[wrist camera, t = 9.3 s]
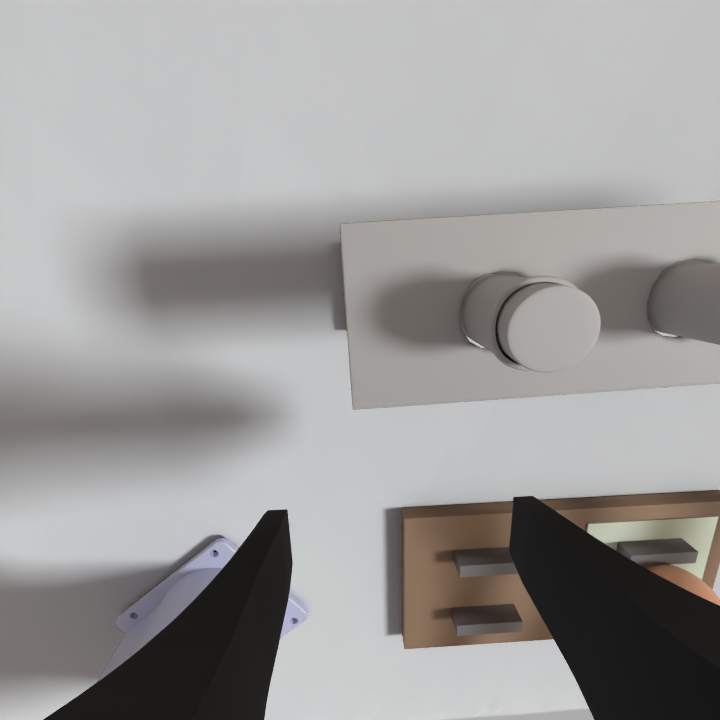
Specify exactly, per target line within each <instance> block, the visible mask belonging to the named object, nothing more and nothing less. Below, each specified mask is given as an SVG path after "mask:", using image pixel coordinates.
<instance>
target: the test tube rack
mask: <svg viewBox="0 0 720 720" xmlns="http://www.w3.org/2000/svg"><path fill="white" fill-rule="evenodd" d="M340 234H341V243H340V248H341V262H342V276H343V290H344V305H345V319H346V331H347V335H348V349H349V364H350V378H351V391H352V404H353V410H356V409H371V408H386V407H400V406H414V405H428V404H442V403H455V402H469V401H483V400H497V399H510V398H524V397H538V396H552V395H566V394H579V393H593V392H607V391H621V390H634V389H648V388H662V387H676V386H690V385H704V384H717V383H720V201H711V202H694V203H677V204H660V205H644V206H627V207H610V208H593V209H577V210H560V211H543V212H526V213H509V214H493V215H476V216H459V217H442V218H426V219H409V220H393V221H376V222H360V223H345V224H340ZM653 330H655V331H659V332H664V333H668V334H673V335H677V337H668V336H662V335H660V334H658V333H657V332H655V331H653ZM466 336H467V337H469V338H470V339H472V340H474V341H475V342H477V343H479V344H480V345H482V346H483V347H485V348H487V349H485V348H480V347H478V346H476V345H474V344H473V343H471V342H469V340H468V339H467V337H466Z"/></svg>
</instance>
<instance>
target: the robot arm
mask: <svg viewBox="0 0 720 720" xmlns="http://www.w3.org/2000/svg"><path fill="white" fill-rule="evenodd" d="M213 550H216V551H217V552H214V551H213ZM509 552H510V554H511V557H512V559H513V562H514V564H515V567H516V569H517V572H518V574H519V576H520V579H521V581H522V583H523V585H524V587H525V589H526V591H527V592H528V594H529V596H530V598H531V600H532V601H533V603H534V605H535V607H536V609H537V610H538V612H539V614H540V616H541V617H542V619H543V621H544V623H545V624H546V626H547V628H548V630H549V632H550V633H551V635H552V637H553V639H554V640H555V642H556V644H557V646H558V647H559V649H560V651H561V653H562V655H563V656H564V658H565V660H566V662H567V664H568V665H569V667H570V669H571V671H572V673H573V675H574V677H575V679H576V681H577V683H578V685H579V687H580V689H581V692H582V694H583V696H584V698H585V700H586V702H587V705H588V707H589V709H590V711H591V713H592V715H593V717H594V720H720V606H719V605H717V604H715V603H713V602H711V601H708V600H706V599H704V598H702V597H700V596H698V595H696V594H694V593H692V592H690V591H688V590H686V589H684V588H682V587H680V586H678V585H676V584H674V583H672V582H670V581H668V580H666V579H665V578H663V577H661V576H659V575H657V574H655V573H653V572H651V571H650V570H648V569H646V568H644V567H643V566H641V565H639V564H637V563H636V562H634V561H632V560H631V559H629V558H627V557H626V556H624V555H622V554H621V553H619V552H617V551H616V550H614V549H612V548H611V547H609V546H608V545H606V544H604V543H603V542H601V541H600V540H598V539H597V538H595V537H594V536H592V535H590V534H589V533H587V532H586V531H584V530H583V529H581V528H580V527H578V526H577V525H575V524H574V523H572V522H571V521H570V520H568V519H567V518H565V517H564V516H562V515H561V514H559V513H558V512H556V511H555V510H553V509H552V508H550V507H549V506H547V505H546V504H544V503H543V502H541V501H540V500H538V499H536V498H535V497H533V496H526V497H514V499H513V510H512V521H511V533H510V544H509ZM291 573H292V553H291V543H290V533H289V522H288V512H287V510H269V511H267V512H266V513H265V514H264V515H263V517H262V518H261V519H260V521H259V522H258V524H257V525H256V526H255V528H254V529H253V531H252V532H251V533H250V535H249V536H248V537H247V539H246V540H245V541H244V543H243V544H242V545H241V546H240V548H239V549H238V548H236V547H235V546H234V545H233V544H232V543H231V542H230V541H228V540H227V539H225V538H218V539H216V540H215V541H213V542H212V543H211V544H210V545H208V546H207V547H206V548H205V549H203V550H202V551H201V552H199V553H198V554H197V555H196V556H194V557H193V558H192V559H190V560H189V561H188V562H187V563H185V564H184V565H183V566H182V567H180V568H179V569H178V570H176V571H175V572H174V573H173V574H171V575H170V576H169V577H168V578H166V579H165V580H164V581H162V582H161V583H160V584H159V585H157V586H156V587H155V588H154V589H152V590H151V591H150V592H148V593H147V594H146V595H145V596H143V597H142V598H141V599H139V600H138V601H137V602H136V603H134V604H133V605H132V606H131V607H129V608H128V609H127V610H125V611H124V612H123V613H122V614H120V615H119V617H118V618H117V620H116V622H115V624H116V626H117V628H119V629H120V630H121V631H123V632H124V633H126V634H125V635H124V637H123V639H122V640H121V642H120V644H119V646H118V647H117V649H116V651H115V652H114V654H113V656H112V657H111V659H110V661H109V663H108V664H107V666H106V668H105V669H104V671H103V673H102V675H101V676H100V678H99V680H98V681H97V683H96V684H94V685H93V686H92V687H90V688H89V689H87V690H86V691H85V692H83V693H82V694H80V695H79V696H78V697H76V698H75V699H73V700H72V701H70V702H69V703H67V704H66V705H64V706H63V707H61V708H60V709H58V710H57V711H55V712H54V713H53V714H51V715H50V716H48V717H47V718H45V719H44V720H264V716H265V709H266V702H267V697H268V691H269V686H270V681H271V676H272V672H273V667H274V663H275V658H276V654H277V649H278V645H279V640H280V638H281V637H283V636H284V635H285V634H287V633H288V632H290V631H291V630H292V629H294V628H295V627H297V626H298V625H300V624H301V623H302V622H304V621H305V620H306V619H307V617H308V609H307V608H306V607H305V606H304V605H303V604H301V603H300V602H299V601H298V600H297V599H296V598H294V597H293V596H292V595H291V594H290V593H289V591H290V582H291Z"/></svg>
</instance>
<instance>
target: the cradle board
mask: <svg viewBox="0 0 720 720" xmlns="http://www.w3.org/2000/svg"><path fill="white" fill-rule="evenodd" d="M540 501H541V502H543V503H544V504H546V505H547V506H549V507H550V508H552V509H553V510H555V511H556V512H558V513H559V514H561V515H562V516H564V517H565V518H567V519H568V520H570V521H571V522H572V523H574V524H575V525H577V526H578V527H580V528H581V529H583V530H584V531H586V532H587V533H589V534H590V535H592V536H594V537H595V538H597V539H598V540H600V541H601V542H603V543H604V544H606V545H608V546H609V547H611V548H612V549H614V550H616V551H617V552H619V553H621V554H622V555H624V556H626V557H627V558H629V559H631V560H632V561H634V562H636V563H637V564H639V565H641V566H655V565H662V564H668V565H673V566H677V567H680V568H682V569H685V570H687V571H689V572H690V573H692V574H694V575H695V576H697V577H698V578H700V579H701V580H702V581H703V582H705V583H706V584H707V585H708V586H709V587H710V588H711V589H713V585H714V582H715V578H716V574H717V571H718V567H719V563H720V490H717V491H699V492H680V493H662V494H644V495H626V496H608V497H589V498H571V499H553V500H540ZM512 510H513V502H498V503H480V504H462V505H444V506H425V507H407V508H402V636H403V642H404V649H413V648H428V647H443V646H458V645H473V644H488V643H503V642H518V641H532V640H547V639H553V637H552V635H551V633H550V632H549V630H548V628H547V626H546V624H545V623H544V621H543V619H542V617H541V616H540V614H539V612H538V610H537V609H536V607H535V605H534V603H533V601H532V600H531V598H530V596H529V594H528V592H527V591H526V589H525V587H524V585H523V583H522V581H521V579H520V576H519V574H518V572H517V569H516V567H515V564H514V562H513V559H512V557H511V554H510V552H509V544H510V533H511V521H512Z"/></svg>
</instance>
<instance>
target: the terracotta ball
mask: <svg viewBox="0 0 720 720" xmlns="http://www.w3.org/2000/svg"><path fill="white" fill-rule="evenodd" d="M643 567H644V568H646V569H648V570H650V571H651V572H653V573H655V574H657V575H659V576H661V577H663V578H665V579H666V580H668V581H670V582H672V583H674V584H676V585H678V586H680V587H682V588H684V589H686V590H688V591H690V592H692V593H694V594H696V595H698V596H700V597H702V598H704V599H706V600H708V601H711V602H713V603H715V604H717V605H719V606H720V600H719V598H718V596H717V595H716V594H715V593H714V591H713V590H712V589H711V588H710V587H709V586H708V585H707V584H706V583H705V582H703V581H702V580H701V579H700V578H698V577H697V576H695V575H694V574H692V573H690V572H689V571H687V570H685V569H682V568H680V567H677V566H673V565H668V564H662V565H655V566H643Z"/></svg>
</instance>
